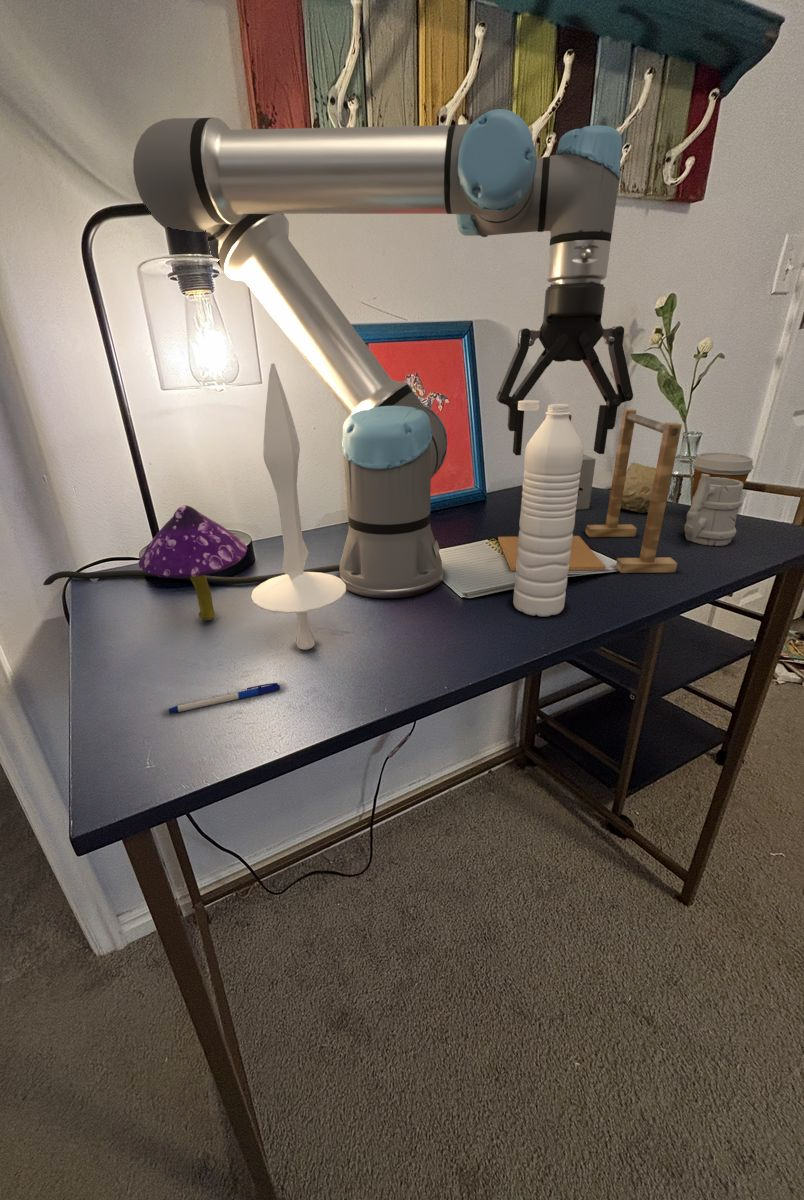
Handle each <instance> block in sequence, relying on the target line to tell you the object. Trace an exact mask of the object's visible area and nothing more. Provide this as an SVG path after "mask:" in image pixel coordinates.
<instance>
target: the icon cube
mask: <svg viewBox="0 0 804 1200" xmlns="http://www.w3.org/2000/svg"><path fill="white" fill-rule="evenodd" d="M596 460H597V458H595V457H591V456H589V455H586V454H585V453H583V461H582V466H581V470H580V478H579V479H580V482H579V485H578V486H579V490H578V492H577V493H578V497H577V505H576V511H577V510H587V509H588V510H589V509H590V503H591V498H592V497H591V496H592V489H593V484H594V483H593V482H594V475H595V467H596Z"/></svg>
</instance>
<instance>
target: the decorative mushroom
mask: <svg viewBox="0 0 804 1200" xmlns="http://www.w3.org/2000/svg"><path fill="white" fill-rule="evenodd" d="M247 550H248V546H247V545H246V543H245V542H244V541H243V540H241V539H240V538H239V537H237V536H236V535H235V534H234V533H233V532H231V531H229V530H228V529H227V528H225V527H223V526H222V525H221V524H219V523H218V522H216V521H214V520H213V519H211V518H209V517H208V516H206V515H204V514H202V513H201V512H199V511H198V510H197V509H195V507H193V506H190V505H181V506H179V507H178V508H177V509H176V511H174V513H173V515H172V517H171V518H170V519H169V520H168V521H167V522H166V523H165V524H164V525H163V526H162V528H161V529H160V530H159V531H158V532H157V533H156V534H155V536H154V537H152V539H151V541H150V542H149V543H148V545H147V546H146V548H145V550H144V552H143V554H142V555H141V557H140V558H139V561H138V567H139V568H140V569H141V570H144V571H145V572H147V573H148V574H150V575H154V576H158V577H157V578H163V577H165V578H164V579H173V578H184V577H190V579H191V580H190V581H191V583H192V585H193V586H194V590H195V593H196V597H197V603H198V608H199V612H198V617H199V619H201V620H202V621H211V620H213V619H214V617H215V616H216V615H215V614H216V612H215V608H214V603H213V597H212V592H211V588H210V585H209V582H207V579H206V577H205V575H206V576H207V575H211V574H214V573H217V572H221V571H223V570H226V569H229V568H230V567H233V566H234V565H236V564H238V563H239V562H241V561H242V560H243V559H244V558H245V556H246V554H247Z"/></svg>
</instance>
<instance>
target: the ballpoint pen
mask: <svg viewBox="0 0 804 1200" xmlns="http://www.w3.org/2000/svg"><path fill="white" fill-rule="evenodd" d="M280 689H281V685H280V684H279V683H278V682H272V683H271V682H270V683H264V684H258V685H255V686H250V687H246V689H245V690H241V691H238V692H233V693H230V694H225V695H220V696H215V697H210V698H207V699H201V700H198V701H192V702H188V703H183V704H178V705H175V706H173V707H170V708H168V712H169V713H170V714H173V713H181V712H186V711H190V710H195V709H199V708H205V707H209V706H214V705H217V704H223V703H227V702H232V701H236V700H242V699H246V698H252V697H257V696H261V695H265V694H270V693H274V692H276V691H279V690H280Z"/></svg>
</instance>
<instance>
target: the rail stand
mask: <svg viewBox="0 0 804 1200" xmlns="http://www.w3.org/2000/svg"><path fill="white" fill-rule="evenodd" d="M635 424H637V425H640V426H641V427H645V428H648V429H650V430H654V431H655V432H658V433H661V434H662V436H661V441H660V446H659V452H658V457H657V463H656V467H655V468H656V473H655V478H654V483H653V489H652V494H651V499H650V505H649V510H648V512H647V517H646V521H645V527H644V531H643V532H644V533H643V537H642V541H641V548H640V553H639V557H616V560H615V561H616V562H615V568H616V569H617V571H618V572H619V573H621V574H641V573H642V574H651V573H655V574H657V573H658V574H660V573H664V574H665V573H666V574H667V573H676V572H677V566H678V562H677V561H675V560H674V559H673V558H672V557H670V556H668V557H656V556H657V551H658V545H659V540H660V536H661V532H662V526H663V522H664V521H663V520H664V516H665V511H666V507H667V502H668V496H669V491H670V485H671V481H672V476H673V471H674V466H675V461H676V456H677V451H678V446H679V441H680V437H681V432H682V426H683V424H682V423H679V422H660V421H658V420H655V419H652V418H648V417H645V416H643V415H639V414H637V409H634V408H623V409H622V415H621V421H620V428H619V433H618V434H619V435H618V440H617V441H618V442H617V447H616V453H615V460H614V467H613V474H612V481H611V485H610V492H609V501H608V505H607V507H608V508H607V514H606V520H605V524H586V526H585V534H586V535H587V536H588V537H589V538H629V537H630V538H632V537H633V538H634V537H636V535H637V529H638V528H637V527H636V526H635V525H634V524H631V523H630V524H628V523H625V524H619V520H620V516H621V515H620V514H621V509H622V508H621V502H622V496H623V490H624V484H625V478H626V472H627V470H628V467H629V466H628V464H629V458H630V454H631V453H630V452H631V448H632V447H631V446H632V440H633V435H634V428H635Z"/></svg>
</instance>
